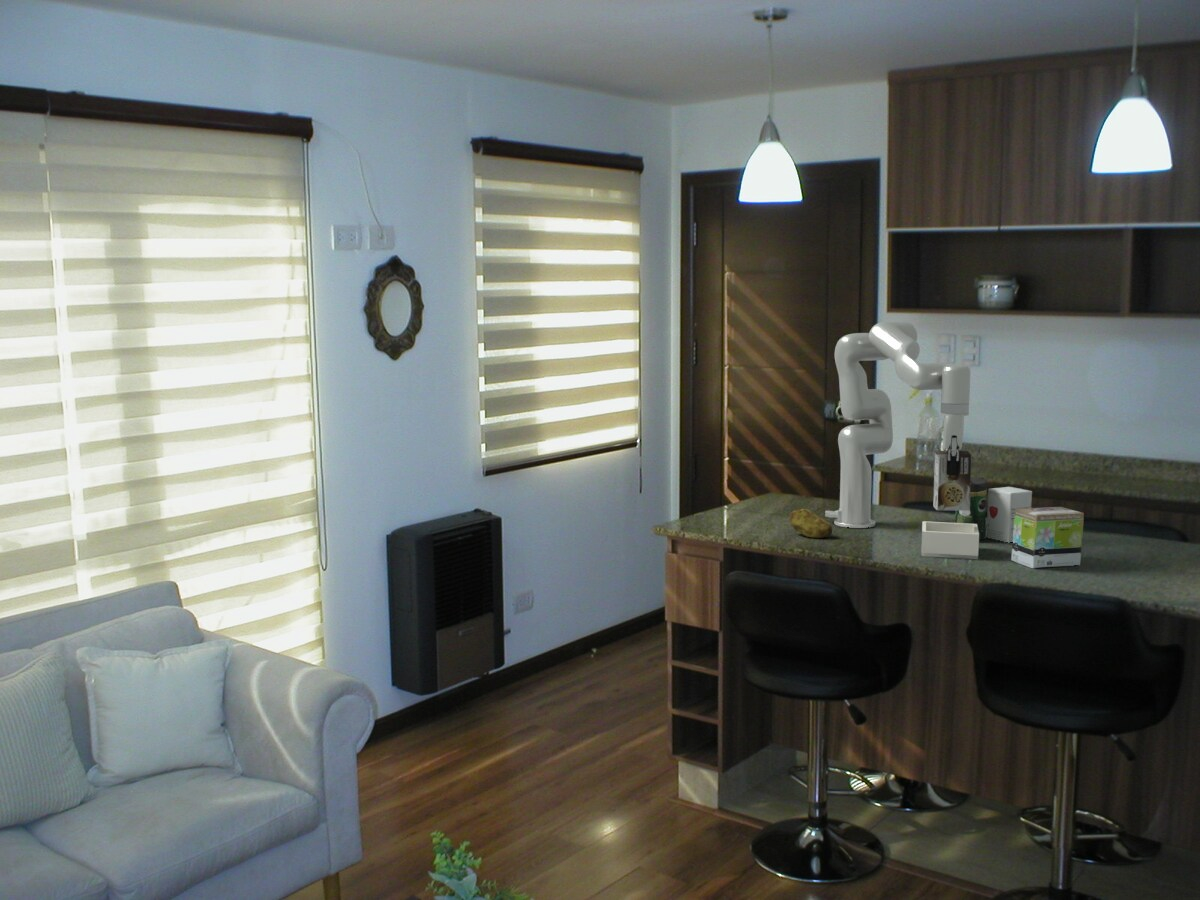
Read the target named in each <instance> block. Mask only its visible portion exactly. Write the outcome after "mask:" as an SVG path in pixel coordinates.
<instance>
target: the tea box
mask: <svg viewBox="0 0 1200 900" xmlns="http://www.w3.org/2000/svg"><path fill="white" fill-rule="evenodd" d="M1084 515H1085V513H1084V512H1081V511H1077V510H1075V509H1070V508H1066V507H1063V506H1053V507H1052V506H1048V507H1031V508H1021V509H1015V517H1014V529H1013V543H1011V544H1012V548H1011V556H1010V557H1011V558H1010V559H1011V561H1012V562H1015V563H1017V564H1019V565H1022V566H1023V567H1024V566H1026V567H1028V568H1031V569H1037V568H1038V569H1039V568H1051V567H1053V568H1054V567H1056V568H1057V567H1075V566H1074V565H1079V566H1081V560H1082V559H1081V558H1082V549H1083V548H1082V547H1083V533H1084V520H1085V519H1084V518H1085V517H1084Z"/></svg>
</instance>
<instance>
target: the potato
mask: <svg viewBox="0 0 1200 900" xmlns="http://www.w3.org/2000/svg"><path fill="white" fill-rule="evenodd" d="M788 518H789V519H788V520H789V523H790V524H791V525H790V526H791V527H793V529H794V530H796V531H797V532H799V533H800V534H802V535H803V536H805V537H808V538H813V539H821V538H827V537H829V536H831V535H832V533H833V528H832V527H833V526H832V524H831V523H829V522H828V521H826V520H825V519H823V518H822V517H820V516H819V515H817V514H816V513H813V512H812V511H811V510H809V509H805V508H796V509H794V510H793V511H791V512H790V513H789V516H788Z"/></svg>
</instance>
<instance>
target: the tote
mask: <svg viewBox="0 0 1200 900" xmlns="http://www.w3.org/2000/svg"><path fill="white" fill-rule="evenodd" d="M979 543H980V540H979V531H978V527H977V524H968V523H955V522H943V521H942V522H941V521H926V520H925V521H922V524H921V551H920V553H921V555H920V556H921V557H929V558H946V559H965V560H966V559H967V560H979V548H980V547H979V546H980V545H979Z"/></svg>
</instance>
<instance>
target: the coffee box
mask: <svg viewBox="0 0 1200 900" xmlns="http://www.w3.org/2000/svg"><path fill="white" fill-rule="evenodd" d="M947 460H948V450H946V451H944V450H934V471H933V473H934V474H933V478H934V479H933V504H932V505H933V508H934V509H935V510H936V511H956V510H970V485H971V477H972V476H971V475H972V453H970V452H969V451H968V450H961V451H959V460H958V461H959V475H947Z"/></svg>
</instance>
